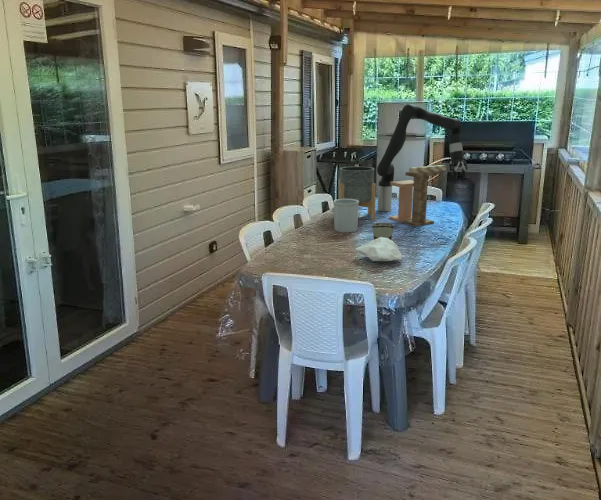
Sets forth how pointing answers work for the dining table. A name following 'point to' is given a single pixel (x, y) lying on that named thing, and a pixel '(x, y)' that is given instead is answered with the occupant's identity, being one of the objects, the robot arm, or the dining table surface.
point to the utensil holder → (346, 215)
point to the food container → (382, 230)
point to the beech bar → (427, 169)
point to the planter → (358, 187)
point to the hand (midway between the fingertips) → (459, 177)
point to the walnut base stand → (419, 199)
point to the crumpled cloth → (380, 250)
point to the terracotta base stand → (404, 200)
